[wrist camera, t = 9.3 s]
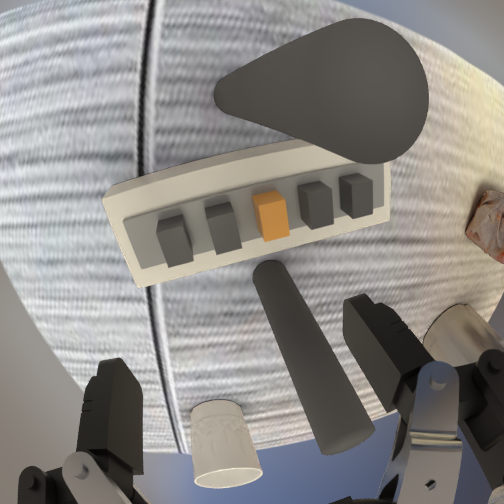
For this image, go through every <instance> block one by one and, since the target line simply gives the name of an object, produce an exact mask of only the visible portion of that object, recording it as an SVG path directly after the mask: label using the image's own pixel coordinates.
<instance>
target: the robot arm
mask: <svg viewBox="0 0 504 504" xmlns="http://www.w3.org/2000/svg"><path fill="white" fill-rule="evenodd" d="M343 336H344V339H345V342H346V344H347V346H348V348H349V349H350V351H351V353H352V354H353V356H354V358H355V359H356V361H357V363H358V364H359V366H360V368H361V369H362V371H363V373H364V374H365V376H366V378H367V380H368V381H369V383H370V385H371V386H372V388H373V390H374V391H375V393H376V395H377V397H378V398H379V400H380V402H381V403H382V405H383V407H384V409H385V410H386V412H387V413H388V412H390V411H392V410H395V409H397V410H398V412H399V413H400V417H399V422H398V426H397V431H396V436H395V440H394V445H393V448H392V453H391V457H390V460H389V464H388V467H387V469H386V471H385V473H384V476H383V479H382V481H381V484H380V488H379V491H378V494H377V497H376V499H355V500H352V498H351V496H349V497H346V498H344V499H341V500H338V501H335V502H333V503H330V504H453V502H454V497H455V492H456V487H457V482H458V476H459V470H460V463H461V456H462V442H461V440H460V439H458V438H457V423H458V425H459V427H460V429H461V431H462V432H463V434H464V436H465V438H466V440H467V441H468V443H469V445H470V447H471V449H472V450H473V452H474V454H475V456H476V458H477V460H478V462H479V464H480V466H481V468H482V470H483V472H484V474H485V476H486V478H487V480H488V482H489V484H490V486H491V488H492V490H493V492H492V494H491V496H490V498H489V502H488V504H504V347H503V344H504V340H503V339H502V338H501V337H500V336H499V334H498V333H497V332H496V331H495V330H494V329H493V328H492V327H491V326H490V325H489V324H488V323H487V322H486V321H485V320H484V319H483V318H482V317H481V316H480V315H479V314H478V313H477V312H476V311H475V310H474V309H473V308H472V307H471V306H470V305H469V304H467V305H465V306H464V305H462V304H458V305H455V306H453V307H451V308H449V309H448V310H447V311H445V312H444V313H443V314H442V315H441V316H440V317H439V318H438V319H437V320H436V321H435V322H434V324H433V325H432V326H431V328H430V329H429V331H428V332H427V334H426V336H425V339H424V342H423V345H422V343H421V342H420V341H419V340H418V339H417V337H416V336H415V335H414V334H413V332H412V331H411V330H410V329H408V326H407V325H406V324H405V323H404V321H402V319H401V318H400V317H399V315H398V314H397V313H396V312H395V311H394V310H393V309H392V308H390V307H388V306H387V305H385V304H383V303H378V304H374V303H373V302H372V300H371V299H370V298H369V297H368V296H367V295H366V294H365V293H363V294H360V295H357V296H354V297H351V298H348V299H345V300H344V303H343ZM83 401H84V403H83V405H82V413H81V418H80V425H79V432H78V441H77V448H76V452H75V453H72V454H71V455H70V456H68V457H67V458H66V460H65V462H64V464H63V467H60V468H57V469H54V470H51V471H47V472H44V471H42V470H41V469H39V468H37V467H35V466H29V467H27V468H25V469H24V470H23V471H22V473H21V475H20V477H19V485H18V504H152V503H151V502H150V501H149V500H148V499H147V498H146V497H145V495H144V494H143V493H142V492H141V491H140V490H139V489H138V487H137V486H136V485H135V484H134V483H133V475H143V474H144V472H143V393H142V389H141V386H140V384H139V382H138V381H137V379H136V378H135V376H134V375H133V374H132V372H131V371H130V370H129V368H128V367H127V365H126V364H125V362H124V361H123V360H122V359H121V358H114V359H108V360H102V361H100V363H99V365H98V371H97V376H93V377H92V378H91V379H90V381H89V383H88V385H87V386H86V388H85V394H84V400H83ZM427 488H428V490H426V489H427Z"/></svg>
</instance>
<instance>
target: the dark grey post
mask: <svg viewBox="0 0 504 504" xmlns="http://www.w3.org/2000/svg"><path fill="white" fill-rule="evenodd" d="M214 100H215V103H216V105H217V107H218V108H219V109H220V110H221V111H223V112H224V113H226V114H229V115H232V116H235V117H238V118H242V119H245V120H248V121H251V122H254V123H257V124H260V125H263V126H265V127H268V128H271V129H274V130H277V131H279V132H282V133H285V134H288V135H290V136H293V137H295V138H298V139H301V140H303V141H306V142H308V143H311V144H313V145H316V146H318V147H320V148H323V149H325V150H328V151H330V152H332V153H335V154H337V155H339V156H341V157H344V158H346V159H348V160H351V161H354V162H357V163H361V164H371V165H373V164H382V163H386V162H389V161H391V160H394V159H396V158H397V157H399V156H401V155H402V154H403V153H405V152H406V151H407V150H408V149H409V148H410V147H411V146H412V145H413V144H414V142H415V141H416V140H417V138H418V136H419V135H420V133H421V131H422V129H423V126H424V124H425V121H426V117H427V112H428V104H429V91H428V83H427V79H426V75H425V72H424V69H423V66H422V64H421V62H420V60H419V58H418V56H417V54H416V53H415V51H414V50H413V48H412V47H411V46H410V44H409V43H408V42H407V41H406V40H405V39H404V38H403V37H402V36H401V35H400V34H398V33H397V32H396V31H395V30H393V29H391V28H390V27H388V26H386V25H384V24H382V23H380V22H377V21H374V20H370V19H364V18H353V19H346V20H342V21H339V22H336V23H334V24H331V25H329V26H326V27H324V28H321V29H319V30H316V31H314V32H312V33H309V34H307V35H305V36H303V37H300V38H298V39H296V40H294V41H292V42H289V43H287V44H285V45H283V46H281V47H279V48H277V49H275V50H273V51H271V52H269V53H267V54H265V55H263V56H261V57H259V58H257V59H256V60H254V61H252V62H250V63H248V64H246V65H245V66H243V67H241V68H239V69H238V70H236V71H234V72H232V73H231V74H229V75H227V76H226V77H224V78H222V79H221V80H220V81H219V82H218V83H217V85H216V87H215V90H214Z"/></svg>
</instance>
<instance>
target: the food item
mask: <svg viewBox="0 0 504 504" xmlns="http://www.w3.org/2000/svg"><path fill="white" fill-rule="evenodd" d="M486 192H487V193H484V194H483V197H482V199H481V200H480V202H479V204H478V206H477V208H476V211H475V213H474V214H473V217H472V219H471V221H470V224H469V226H468V228H467V230H466V234H467V236H468V237H469V238H470V239H471V240H472V241H473V242H474V243H475V244H476V245H478V246H479V247H480V248H481V249H482V250H484V252H485V253H488V254H489V256H491V257H492V258H493V259H495V260H496V261H498V262H500V263H502V264H504V193H500V192H497V191H494V190H486Z"/></svg>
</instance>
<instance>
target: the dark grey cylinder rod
mask: <svg viewBox="0 0 504 504" xmlns="http://www.w3.org/2000/svg"><path fill="white" fill-rule="evenodd" d="M253 282H254V284H255V287H256V290H257V292H258V295H259V297H260V300H261V302H262V305H263V307H264V310H265V313H266V315H267V318H268V320H269V323H270V325H271V328H272V330H273V333H274V336H275V338H276V341H277V343H278V346H279V348H280V351H281V353H282V356H283V358H284V361H285V363H286V366H287V368H288V371H289V374H290V376H291V379H292V381H293V384H294V386H295V389H296V391H297V394H298V396H299V399H300V401H301V404H302V406H303V409H304V411H305V414H306V416H307V419H308V421H309V424H310V426H311V428H312V431H313V433H314V436H315V438H316V441H317V443H318V446H319V448H320V451H321V453H322V454H323V455H333V454H338V453H341V452H344V451H347V450H349V449H351V448H353V447H355V446H357V445H359V444H360V443H362V442H363V441H365V440H366V439H368V438H369V437H370V436H371V435H372V434H373V432H374V431H375V427H374V425H373V424H372V421H371V419H370V418H369V416H368V414H367V412H366V410H365V408H364V406H363V405H362V403H361V401H360V399H359V397H358V395H357V394H356V392H355V390H354V388H353V386H352V384H351V383H350V381H349V379H348V377H347V375H346V374H345V372H344V370H343V368H342V366H341V365H340V363H339V361H338V359H337V357H336V356H335V354H334V352H333V350H332V348H331V347H330V345H329V343H328V341H327V339H326V338H325V336H324V334H323V332H322V331H321V329H320V327H319V325H318V324H317V322H316V320H315V318H314V317H313V315H312V313H311V311H310V309H309V308H308V306H307V304H306V302H305V301H304V299H303V297H302V296H301V294H300V292H299V290H298V289H297V287H296V285H295V283H294V282H293V280H292V278H291V276H290V275H289V273H288V271H287V270H286V268H285V266H284V265H283V264H282V263H281V262H279V261H276V260H268V261H265V262H263V263H261V264H260V265H258V266H257V267H256V269H255V270H254V272H253Z"/></svg>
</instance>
